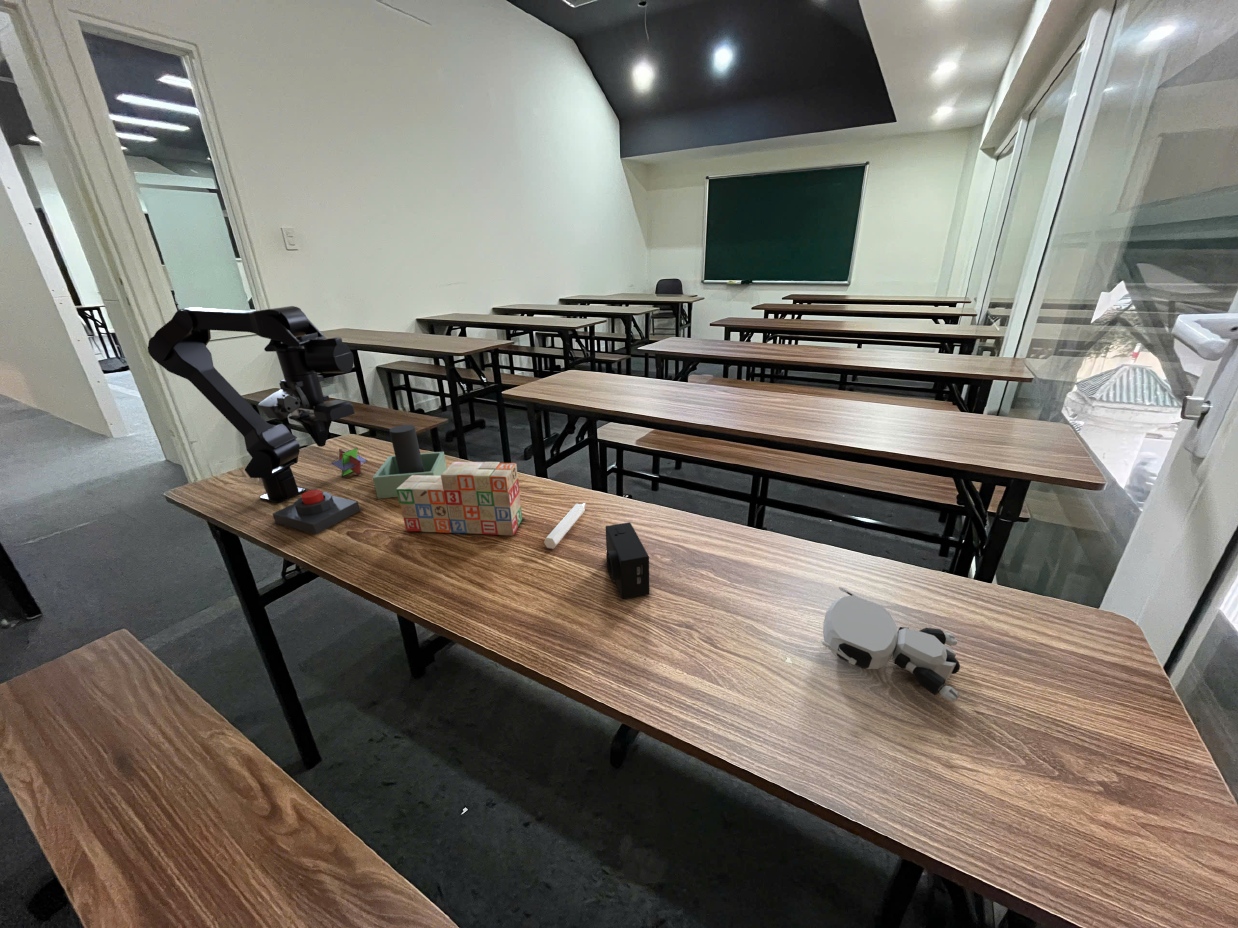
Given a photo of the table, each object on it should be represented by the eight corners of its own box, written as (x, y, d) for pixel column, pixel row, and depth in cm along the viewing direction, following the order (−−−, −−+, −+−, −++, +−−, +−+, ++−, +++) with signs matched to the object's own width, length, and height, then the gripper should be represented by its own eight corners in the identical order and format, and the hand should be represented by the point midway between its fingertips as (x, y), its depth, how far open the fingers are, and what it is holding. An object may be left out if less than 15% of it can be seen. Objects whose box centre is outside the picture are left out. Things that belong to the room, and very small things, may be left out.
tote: (377, 498, 105) (372, 477, 103) (393, 475, 116) (389, 455, 114) (437, 493, 106) (433, 472, 104) (447, 470, 118) (443, 451, 116)
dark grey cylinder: (399, 487, 108) (386, 433, 103) (404, 478, 113) (392, 426, 108) (423, 485, 109) (412, 431, 104) (427, 475, 114) (416, 423, 109)
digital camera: (599, 562, 81) (598, 526, 78) (630, 556, 82) (630, 521, 79) (614, 601, 71) (613, 562, 69) (649, 594, 73) (649, 555, 70)
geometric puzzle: (378, 463, 118) (357, 436, 117) (354, 474, 112) (332, 446, 111) (365, 476, 121) (345, 450, 121) (341, 487, 116) (320, 460, 115)
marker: (586, 510, 99) (552, 551, 85) (577, 504, 99) (542, 544, 85) (591, 501, 98) (557, 541, 84) (583, 495, 98) (547, 534, 84)
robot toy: (951, 651, 62) (829, 605, 69) (963, 625, 60) (836, 580, 67) (952, 724, 52) (810, 663, 59) (966, 696, 50) (818, 636, 57)
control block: (275, 523, 96) (269, 505, 94) (321, 501, 104) (316, 484, 103) (316, 534, 91) (310, 516, 90) (360, 510, 100) (355, 493, 98)
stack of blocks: (405, 532, 91) (391, 473, 86) (420, 516, 97) (408, 460, 92) (514, 535, 89) (506, 475, 84) (523, 518, 95) (516, 461, 90)
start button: (299, 503, 96) (296, 495, 95) (316, 495, 99) (313, 488, 98) (311, 506, 94) (309, 498, 94) (328, 498, 97) (325, 491, 97)
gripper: (228, 379, 92) (254, 454, 98) (291, 386, 85) (316, 466, 91) (284, 367, 102) (306, 436, 108) (346, 372, 95) (365, 446, 101)
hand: (321, 446), depth 102 cm, fingers closed
